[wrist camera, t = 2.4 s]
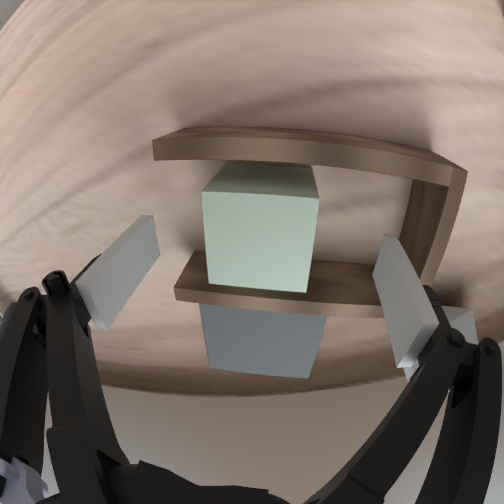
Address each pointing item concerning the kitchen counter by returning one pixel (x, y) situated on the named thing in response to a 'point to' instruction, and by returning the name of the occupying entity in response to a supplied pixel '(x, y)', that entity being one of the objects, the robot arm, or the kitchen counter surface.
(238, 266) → the block
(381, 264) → the robot arm
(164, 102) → the kitchen counter surface
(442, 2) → the kitchen counter surface
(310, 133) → the brown u-shaped bracket
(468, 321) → the die
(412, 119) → the kitchen counter surface
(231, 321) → the mat
